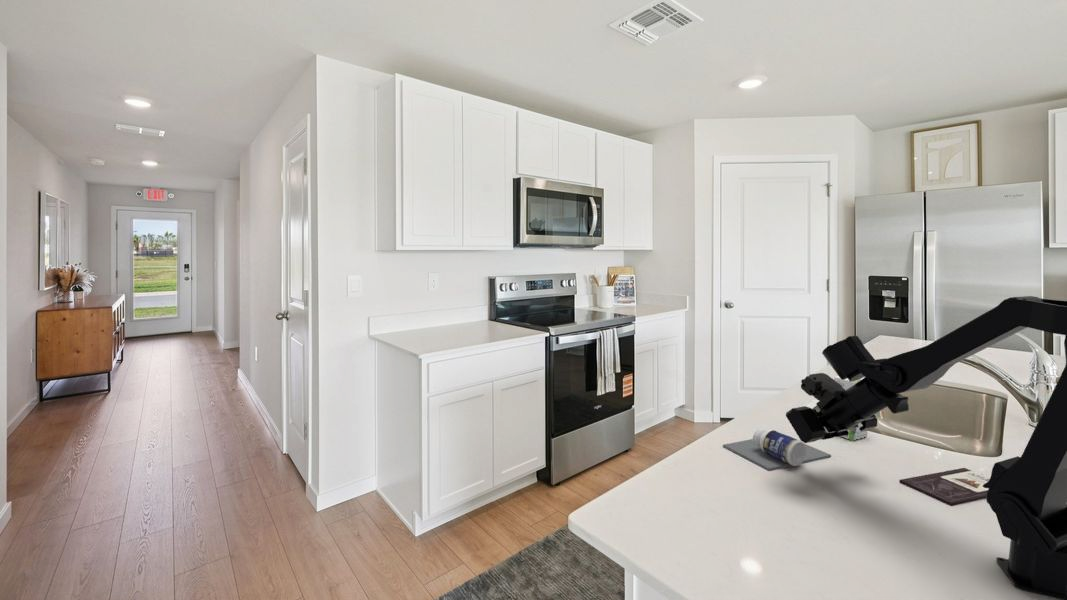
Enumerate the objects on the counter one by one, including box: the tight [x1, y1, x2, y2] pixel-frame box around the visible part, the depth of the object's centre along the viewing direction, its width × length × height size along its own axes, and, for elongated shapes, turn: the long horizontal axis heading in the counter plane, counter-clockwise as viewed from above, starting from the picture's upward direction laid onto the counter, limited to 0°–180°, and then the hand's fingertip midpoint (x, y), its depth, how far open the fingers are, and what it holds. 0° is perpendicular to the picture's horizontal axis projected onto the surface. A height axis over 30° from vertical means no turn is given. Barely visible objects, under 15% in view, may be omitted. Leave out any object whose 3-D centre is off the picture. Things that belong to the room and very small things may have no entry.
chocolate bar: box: [899, 467, 991, 507], centre depth 91 cm, size 9×1×18 cm
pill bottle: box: [752, 428, 806, 467], centre depth 102 cm, size 5×5×10 cm
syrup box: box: [833, 375, 868, 442], centre depth 115 cm, size 6×6×14 cm
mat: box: [722, 438, 832, 472], centre depth 107 cm, size 13×18×1 cm
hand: (803, 437), depth 98 cm, fingers closed
